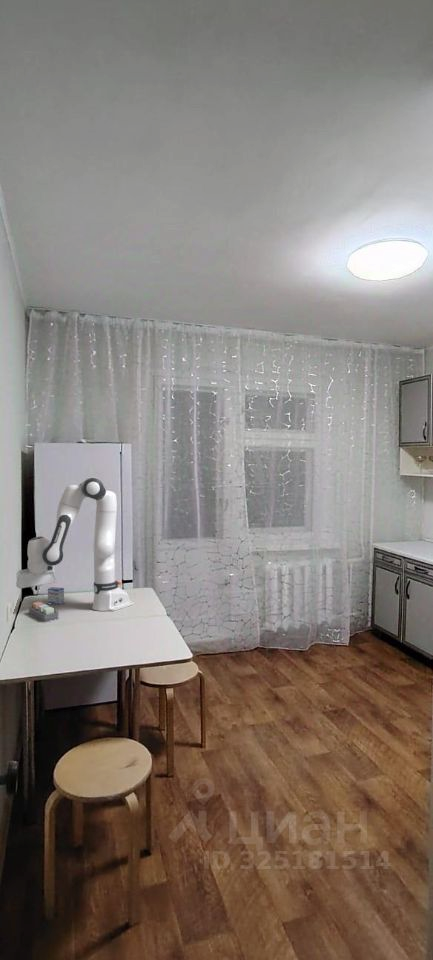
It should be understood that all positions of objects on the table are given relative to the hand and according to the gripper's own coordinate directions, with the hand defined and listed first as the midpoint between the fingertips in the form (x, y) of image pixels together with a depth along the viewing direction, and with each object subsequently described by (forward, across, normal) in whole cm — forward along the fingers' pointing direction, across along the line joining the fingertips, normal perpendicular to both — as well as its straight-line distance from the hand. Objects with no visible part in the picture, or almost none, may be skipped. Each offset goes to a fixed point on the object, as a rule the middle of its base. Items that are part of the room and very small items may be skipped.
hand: (36, 593), depth 261 cm
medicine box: (+11, +16, +11) cm, 22 cm away
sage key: (+8, +1, -13) cm, 15 cm away
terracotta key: (+8, +1, 0) cm, 8 cm away
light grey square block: (+8, +1, -7) cm, 10 cm away
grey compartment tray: (+10, +1, -7) cm, 13 cm away
